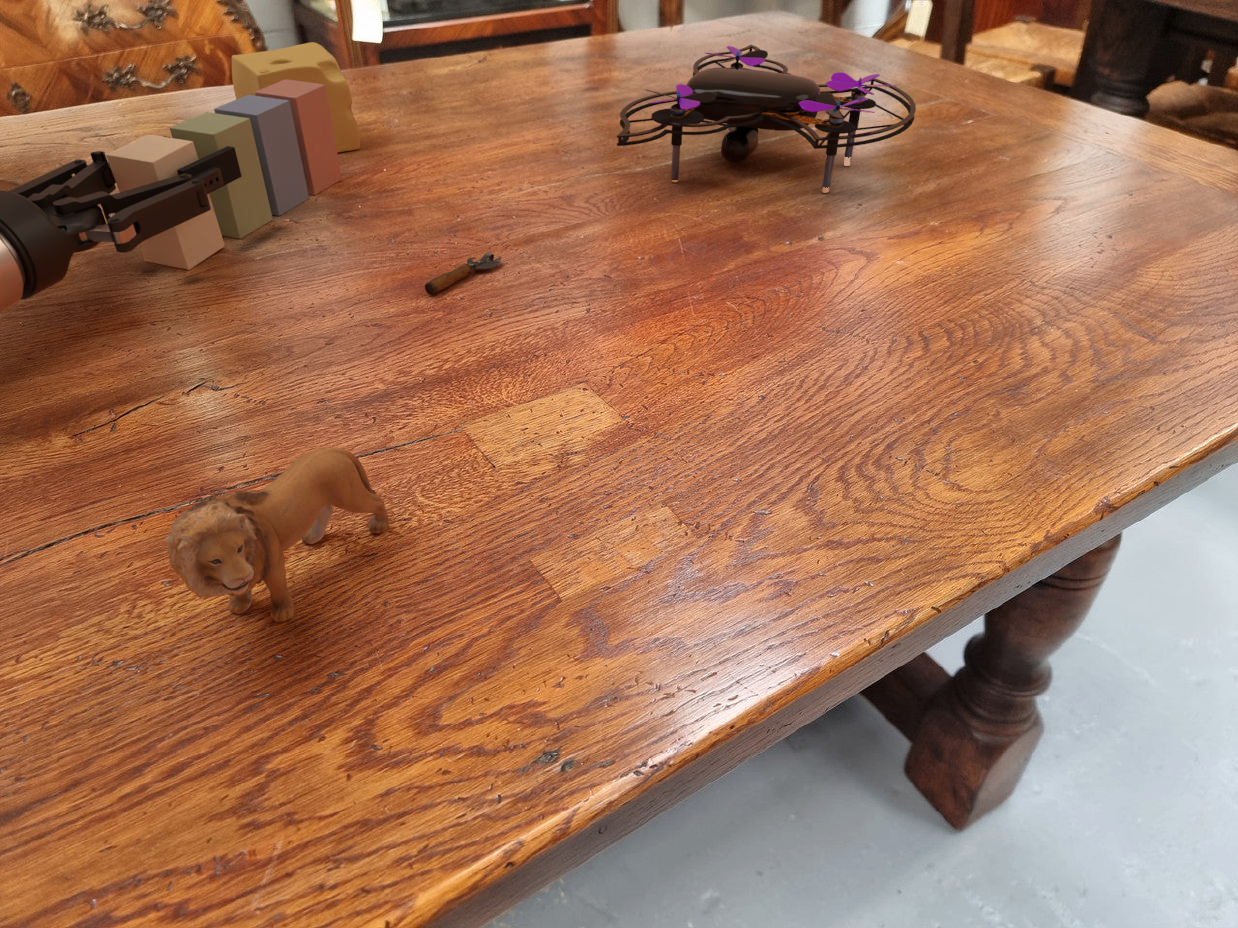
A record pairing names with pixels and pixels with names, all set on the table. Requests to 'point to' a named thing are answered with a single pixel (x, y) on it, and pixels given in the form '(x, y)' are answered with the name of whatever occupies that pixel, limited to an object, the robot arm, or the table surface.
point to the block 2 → (245, 197)
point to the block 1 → (156, 163)
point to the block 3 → (274, 148)
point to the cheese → (306, 67)
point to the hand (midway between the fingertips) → (202, 156)
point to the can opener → (460, 273)
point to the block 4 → (310, 130)
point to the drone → (764, 108)
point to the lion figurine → (268, 528)
